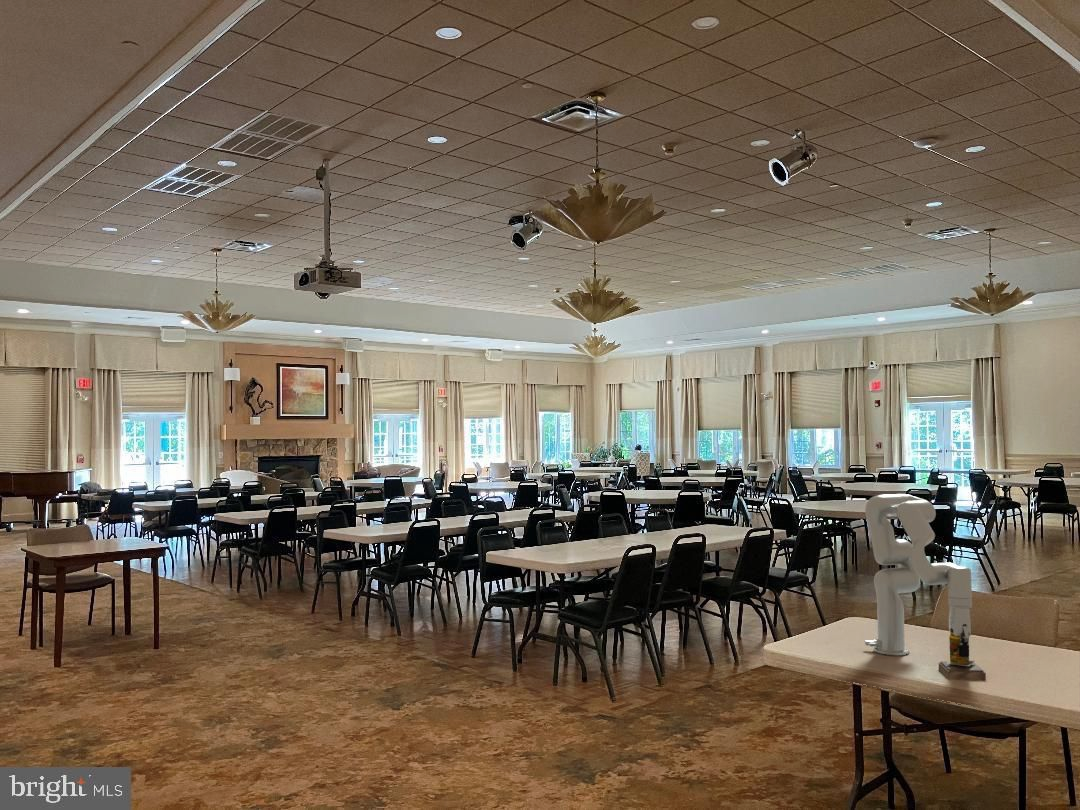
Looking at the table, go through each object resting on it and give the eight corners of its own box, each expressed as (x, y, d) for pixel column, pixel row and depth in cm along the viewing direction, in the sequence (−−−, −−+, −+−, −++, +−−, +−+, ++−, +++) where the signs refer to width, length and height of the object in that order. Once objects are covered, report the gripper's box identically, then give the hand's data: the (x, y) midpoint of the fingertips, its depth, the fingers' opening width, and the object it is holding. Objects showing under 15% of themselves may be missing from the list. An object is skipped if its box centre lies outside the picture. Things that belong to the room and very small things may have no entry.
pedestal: (948, 678, 309) (948, 669, 309) (938, 669, 321) (938, 660, 321) (985, 679, 307) (985, 670, 307) (974, 670, 319) (974, 661, 319)
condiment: (946, 663, 314) (945, 628, 314) (953, 658, 321) (952, 624, 321) (968, 667, 310) (967, 631, 310) (975, 661, 316) (974, 627, 316)
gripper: (941, 597, 324) (942, 647, 324) (955, 606, 307) (956, 660, 307) (964, 597, 323) (965, 648, 322) (979, 607, 306) (980, 660, 305)
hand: (961, 653), depth 315 cm, fingers closed on condiment, 6 cm apart
